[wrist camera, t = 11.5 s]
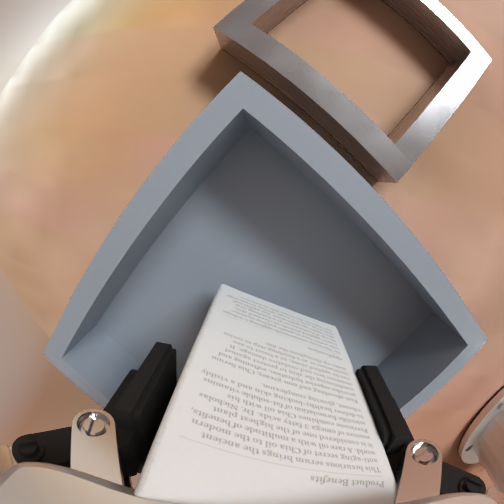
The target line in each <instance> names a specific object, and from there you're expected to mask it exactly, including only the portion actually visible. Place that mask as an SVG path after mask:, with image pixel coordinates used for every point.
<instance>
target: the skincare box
mask: <svg viewBox="0 0 504 504" xmlns="http://www.w3.org/2000/svg"><path fill="white" fill-rule="evenodd" d="M396 492H397V484H396V481H395V478H394V475H393V473H392V470H391V467H390V464H389V461H388V458H387V455H386V453H385V450H384V447H383V444H382V441H381V439H380V436H379V433H378V430H377V428H376V425H375V422H374V419H373V417H372V414H371V412H370V409H369V407H368V404H367V401H366V399H365V396H364V393H363V391H362V388H361V386H360V383H359V381H358V378H357V376H356V373H355V371H354V368H353V366H352V364H351V361H350V358H349V356H348V354H347V351H346V349H345V346H344V344H343V342H342V339H341V337H340V335H339V332H338V330H337V328H336V327H335V326H333V325H330V324H327V323H324V322H321V321H319V320H316V319H313V318H310V317H308V316H305V315H302V314H300V313H297V312H294V311H292V310H289V309H286V308H284V307H281V306H278V305H276V304H273V303H270V302H268V301H265V300H263V299H260V298H257V297H255V296H252V295H250V294H247V293H244V292H242V291H239V290H237V289H235V288H232V287H230V286H228V285H225V284H221V285H220V286H219V288H218V290H217V292H216V294H215V296H214V299H213V301H212V303H211V306H210V308H209V310H208V312H207V315H206V317H205V320H204V322H203V324H202V327H201V329H200V331H199V333H198V336H197V338H196V340H195V343H194V345H193V347H192V349H191V352H190V354H189V357H188V359H187V361H186V364H185V366H184V368H183V371H182V373H181V375H180V378H179V380H178V383H177V385H176V387H175V390H174V392H173V395H172V397H171V400H170V402H169V404H168V407H167V409H166V412H165V414H164V416H163V419H162V421H161V424H160V426H159V429H158V431H157V434H156V436H155V439H154V441H153V444H152V446H151V449H150V451H149V454H148V456H147V459H146V461H145V464H144V467H143V469H142V472H141V475H140V478H139V481H138V484H137V486H136V489H135V491H134V494H135V495H137V496H139V497H144V498H149V499H154V500H160V501H167V502H173V503H180V504H394V503H395V498H396Z"/></svg>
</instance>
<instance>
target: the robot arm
mask: <svg viewBox="0 0 504 504" xmlns="http://www.w3.org/2000/svg"><path fill="white" fill-rule="evenodd" d="M355 373H356V376H357V378H358V381H359V383H360V386H361V388H362V391H363V393H364V396H365V399H366V401H367V404H368V407H369V409H370V412H371V414H372V417H373V419H374V422H375V425H376V428H377V430H378V433H379V436H380V439H381V441H382V444H383V447H384V450H385V453H386V455H387V458H388V461H389V464H390V467H391V470H392V473H393V475H394V478H395V481H396V484H397V492H396V498H395V503H394V504H504V388H503V389H502V390H500V391H499V392H498V393H497V394H496V395H495V396H494V397H493V398H492V399H491V401H490V402H489V403H488V404H487V405H486V406H485V407H484V408H483V409H482V411H481V412H480V413H479V414H478V416H477V417H476V418H475V419H474V421H473V422H472V424H471V425H470V426H469V428H468V429H467V431H466V433H465V434H464V436H463V438H462V441H461V443H460V446H459V455H460V457H461V459H462V461H463V462H465V463H467V464H473V463H478V462H481V463H482V465H483V466H484V468H485V470H486V472H487V473H488V475H489V477H490V479H491V480H492V482H493V484H494V486H495V488H496V490H494V489H492V488H490V487H489V488H488V489H487V490H486V487H485V484H484V482H483V481H482V480H481V479H480V478H479V477H477V476H475V475H473V474H470V473H468V472H466V471H463V470H461V469H458V468H456V467H454V466H451V465H449V464H447V463H445V462H442V451H441V449H440V448H439V447H438V446H437V445H436V444H435V443H434V442H432V441H429V440H426V439H418V440H414V438H413V436H412V434H411V432H410V430H409V428H408V426H407V424H406V421H405V419H404V417H403V415H402V413H401V411H400V409H399V407H398V405H397V403H396V401H395V399H394V398H393V397H392V395H391V393H390V391H389V389H388V387H387V385H386V383H385V381H384V379H383V377H382V375H381V373H380V371H379V369H378V367H377V366H369V365H363V366H362V367H361V368H360V369H357V370H356V372H355ZM176 385H177V365H176V349H173V348H172V345H171V344H167V343H162V342H156V343H155V345H154V346H153V348H152V349H151V351H150V352H149V354H148V355H147V357H146V358H145V360H144V361H143V363H142V364H141V366H140V368H139V369H138V370H135V369H131V370H130V371H129V373H128V374H127V375H126V377H125V378H124V380H123V381H122V383H121V384H120V386H119V387H118V389H117V390H116V392H115V393H114V395H113V396H112V398H111V399H110V401H109V402H108V404H107V405H106V407H105V408H104V410H100V409H94V408H92V409H86V410H83V411H81V412H79V413H78V414H76V416H75V417H74V418H73V422H72V426H71V427H66V428H61V429H56V430H51V431H45V432H40V433H34V434H27V435H24V436H21V437H19V438H17V439H16V441H15V442H14V443H13V445H12V446H9V447H8V445H7V444H1V445H0V504H180V503H173V502H167V501H160V500H154V499H149V498H144V497H139V496H137V495H135V494H134V491H135V489H133V487H132V482H131V476H134V475H136V474H137V473H141V472H142V469H143V467H144V464H145V461H146V459H147V456H148V454H149V451H150V449H151V446H152V444H153V441H154V439H155V436H156V434H157V431H158V429H159V426H160V424H161V421H162V419H163V416H164V414H165V412H166V409H167V407H168V404H169V402H170V400H171V397H172V395H173V392H174V390H175V387H176Z"/></svg>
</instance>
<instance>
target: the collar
mask: <svg viewBox="0 0 504 504" xmlns="http://www.w3.org/2000/svg"><path fill="white" fill-rule="evenodd" d="M306 1H307V0H245V1H244V2H242V3H241V4H240V5H239V6H237V7H236V8H235V9H234V10H233V11H231V12H230V13H229V14H228V15H227V16H226V17H224V18H223V19H222V20H221V21H220V22H219V23H218V24H216V25H215V26H214V27H213V28H214V31H215V33H216V36H217V39H218V41H219V44H220V46H221V48H222V49H223V50H225V51H226V52H228V53H229V54H231V55H232V56H234V57H235V58H236V59H238V60H239V61H241V62H242V63H243V64H245V65H246V66H248V67H249V68H250V69H252V70H253V71H255V72H256V73H257V74H259V75H260V76H261V77H263V78H264V79H265V80H266V81H268V82H269V83H270V84H272V85H273V86H274V87H275V88H277V89H278V90H279V91H281V92H282V93H283V94H284V95H285V96H287V97H288V98H289V99H290V100H292V101H293V102H294V103H295V104H296V105H298V106H299V107H300V108H301V109H302V110H303V111H305V112H306V113H307V114H308V115H309V116H310V117H312V118H313V119H314V120H315V121H316V122H317V123H318V124H319V125H321V126H322V127H323V128H324V129H325V130H326V131H327V132H328V133H329V134H330V135H331V136H333V137H334V138H335V139H336V140H337V141H338V142H339V143H340V144H341V145H342V146H343V147H344V148H345V149H346V150H347V151H348V152H349V153H350V154H351V155H352V156H353V157H354V158H355V159H356V160H357V161H358V162H359V163H360V164H361V165H362V166H363V167H364V168H365V169H366V170H367V171H368V172H369V173H370V174H371V175H372V176H373V177H374V178H375V179H376V181H377V182H393V183H397V182H398V181H399V180H400V179H401V177H402V176H403V175H404V174H405V173H406V171H407V170H408V169H409V168H410V167H411V166H412V164H413V163H414V162H415V161H416V160H417V158H418V157H419V156H420V155H421V153H422V152H423V151H424V150H425V149H426V147H427V146H428V145H429V144H430V142H431V141H432V140H433V139H434V137H435V136H436V135H437V134H438V132H439V131H440V130H441V128H442V127H443V126H444V125H445V123H446V122H447V121H448V120H449V118H450V117H451V116H452V114H453V113H454V112H455V110H456V109H457V108H458V106H459V105H460V104H461V102H462V101H463V100H464V98H465V97H466V96H467V94H468V93H469V92H470V90H471V89H472V87H473V86H474V85H475V83H476V82H477V81H478V79H479V78H480V76H481V75H482V73H483V72H484V71H485V69H486V68H487V66H488V65H489V63H490V62H491V60H492V59H491V58H490V56H489V55H488V54H487V53H486V51H485V50H484V49H483V48H482V47H481V45H480V44H479V43H478V42H477V41H476V40H475V38H474V37H473V36H472V35H471V34H470V33H469V32H468V31H467V29H466V28H465V27H464V26H463V25H462V24H461V23H460V22H459V21H458V20H457V19H456V18H455V17H454V16H453V15H452V14H451V13H450V12H449V11H448V10H447V9H446V8H445V7H444V6H443V5H442V4H441V3H440V2H439V1H437V0H383V1H384V2H385V3H387V4H388V5H389V6H390V7H392V8H393V9H394V10H395V11H396V12H398V13H399V14H400V15H401V16H402V17H403V18H405V19H406V20H407V21H408V22H409V23H410V24H411V25H412V26H413V27H415V28H416V29H417V30H418V31H419V32H420V33H421V34H422V35H423V36H424V37H425V38H426V39H427V40H428V41H429V42H430V43H431V44H432V45H433V46H434V47H435V48H436V49H437V50H438V51H439V52H440V53H441V54H442V55H443V56H444V58H445V59H446V60H447V61H448V62H449V63H450V65H449V66H448V67H447V68H446V70H445V71H444V72H443V73H442V74H441V75H440V77H439V78H438V79H437V80H436V81H435V82H434V84H433V85H432V86H431V87H430V88H429V89H428V91H427V92H426V93H425V94H424V95H423V96H422V98H421V99H420V100H419V101H418V102H417V103H416V105H415V106H414V107H413V108H412V109H411V110H410V111H409V113H408V114H407V115H406V116H405V117H404V118H403V119H402V121H401V122H400V123H399V124H398V125H397V126H396V127H395V129H394V130H393V131H392V132H391V133H390V134H389V135H388V136H387V135H386V134H385V133H384V132H383V131H382V130H381V129H380V128H379V127H378V126H377V125H376V124H375V123H374V122H373V121H372V120H371V119H370V118H369V117H368V116H367V115H366V114H365V113H364V112H363V111H362V110H361V109H360V108H359V107H357V106H356V105H355V104H354V103H353V102H352V101H351V100H350V99H349V98H348V97H347V96H346V95H344V94H343V93H342V92H341V91H340V90H339V89H338V88H337V87H335V86H334V85H333V84H332V83H331V82H330V81H328V80H327V79H326V78H325V77H324V76H322V75H321V74H320V73H319V72H318V71H316V70H315V69H314V68H313V67H311V66H310V65H309V64H308V63H306V62H305V61H304V60H302V59H301V58H300V57H298V56H297V55H296V54H294V53H293V52H292V51H290V50H289V49H288V48H286V47H285V46H284V45H282V44H281V43H279V42H278V41H276V40H275V39H274V38H272V37H271V36H269V35H268V34H267V33H268V32H269V31H270V30H271V29H272V28H274V27H275V26H276V25H277V24H278V23H279V22H281V21H282V20H283V19H284V18H286V17H287V16H288V15H289V14H290V13H292V12H293V11H294V10H296V9H297V8H298V7H299V6H301V5H302V4H303V3H305V2H306Z"/></svg>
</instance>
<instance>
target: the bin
mask: <svg viewBox="0 0 504 504" xmlns="http://www.w3.org/2000/svg"><path fill="white" fill-rule="evenodd" d="M221 284H225V285H228V286H230V287H232V288H235V289H237V290H239V291H242V292H244V293H247V294H250V295H252V296H255V297H257V298H260V299H263V300H265V301H268V302H270V303H273V304H276V305H278V306H281V307H284V308H286V309H289V310H292V311H294V312H297V313H300V314H302V315H305V316H308V317H310V318H313V319H316V320H319V321H321V322H324V323H327V324H330V325H333V326H335V327H336V328H337V330H338V332H339V335H340V337H341V339H342V342H343V344H344V346H345V349H346V351H347V354H348V356H349V358H350V361H351V364H352V366H353V368H354V371H355V372H356V370H357V369H360V368H361V367H362V366H363V365H369V366H377V367H378V369H379V371H380V373H381V375H382V377H383V379H384V381H385V383H386V385H387V387H388V389H389V391H390V393H391V395H392V397H393V398H394V399H395V401H396V403H397V405H398V407H399V409H400V411H401V413H402V415H403V417H404V419H406V418H407V417H408V416H410V415H411V414H412V413H413V412H415V411H416V410H417V409H418V408H419V407H421V406H422V405H423V404H424V403H425V402H426V401H428V400H429V399H430V398H431V397H432V396H433V395H434V394H435V393H437V392H438V391H439V390H440V389H441V388H442V387H443V386H444V385H445V384H446V383H447V382H448V381H449V380H450V379H451V378H452V377H453V376H455V375H456V374H457V373H458V372H459V371H460V369H461V368H462V367H463V366H464V365H465V364H466V363H467V362H468V361H469V360H470V359H471V358H472V357H473V356H474V355H475V354H476V353H477V351H478V350H479V349H480V348H481V347H482V346H483V345H484V344H485V342H486V341H487V338H486V337H485V335H484V333H483V332H482V330H481V328H480V327H479V325H478V323H477V322H476V320H475V319H474V317H473V315H472V314H471V312H470V311H469V309H468V308H467V306H466V305H465V303H464V302H463V300H462V299H461V297H460V296H459V294H458V293H457V291H456V290H455V288H454V287H453V286H452V284H451V283H450V281H449V280H448V279H447V277H446V276H445V274H444V273H443V272H442V270H441V269H440V268H439V266H438V265H437V264H436V262H435V261H434V260H433V258H432V257H431V256H430V254H429V253H428V252H427V251H426V249H425V248H424V247H423V245H422V244H421V243H420V242H419V240H418V239H417V238H416V237H415V236H414V234H413V233H412V232H411V231H410V229H409V228H408V227H407V226H406V225H405V224H404V222H403V221H402V220H401V219H400V218H399V217H398V215H397V214H396V213H395V212H394V211H393V210H392V209H391V207H390V206H389V205H388V204H387V203H386V202H385V201H384V200H383V198H382V197H381V196H380V195H379V194H378V193H377V192H376V191H375V190H374V189H373V188H372V187H371V186H370V184H369V183H368V182H367V181H366V180H365V179H364V178H363V177H362V176H361V175H360V174H359V173H358V172H357V171H356V170H355V169H354V168H353V167H352V166H351V165H350V164H349V163H348V162H347V161H346V160H345V159H344V158H343V157H342V156H341V155H340V154H339V153H338V152H337V151H336V150H335V149H334V148H332V147H331V146H330V145H329V144H328V143H327V142H326V141H325V140H324V139H323V138H322V137H321V136H320V135H318V134H317V133H316V132H315V131H314V130H313V129H312V128H311V127H310V126H308V125H307V124H306V123H305V122H304V121H303V120H302V119H300V118H299V117H298V116H297V115H296V114H295V113H293V112H292V111H291V110H290V109H289V108H287V107H286V106H285V105H284V104H283V103H281V102H280V101H279V100H278V99H276V98H275V97H274V96H273V95H271V94H270V93H269V92H268V91H266V90H265V89H264V88H263V87H261V86H260V85H259V84H257V83H256V82H255V81H253V80H252V79H251V78H249V77H248V76H247V75H245V74H244V73H243V72H241V71H240V72H239V73H238V74H237V75H236V76H235V77H234V78H233V79H232V80H231V81H230V82H229V83H228V84H227V85H226V86H225V87H224V88H223V89H222V91H221V92H220V93H219V94H218V95H217V96H216V97H215V98H214V99H213V100H212V101H211V102H210V103H209V104H208V106H207V107H206V108H205V109H204V110H203V111H202V112H201V113H200V114H199V116H198V117H197V118H196V119H195V120H194V121H193V122H192V124H191V125H190V126H189V127H188V128H187V129H186V131H185V132H184V133H183V134H182V135H181V136H180V138H179V139H178V140H177V141H176V142H175V144H174V145H173V146H172V147H171V149H170V150H169V151H168V152H167V154H166V155H165V156H164V157H163V159H162V160H161V161H160V162H159V164H158V165H157V166H156V168H155V169H154V170H153V172H152V173H151V174H150V175H149V177H148V178H147V179H146V181H145V182H144V184H143V185H142V186H141V188H140V189H139V190H138V192H137V193H136V195H135V196H134V197H133V199H132V200H131V202H130V203H129V204H128V206H127V207H126V209H125V210H124V212H123V213H122V215H121V216H120V218H119V219H118V221H117V222H116V224H115V225H114V227H113V228H112V230H111V231H110V233H109V234H108V236H107V237H106V239H105V241H104V242H103V244H102V245H101V247H100V248H99V250H98V252H97V253H96V255H95V257H94V258H93V260H92V262H91V263H90V265H89V267H88V268H87V270H86V272H85V274H84V275H83V277H82V279H81V281H80V282H79V284H78V286H77V288H76V290H75V291H74V293H73V295H72V297H71V299H70V301H69V303H68V304H67V306H66V308H65V310H64V312H63V314H62V316H61V318H60V320H59V322H58V324H57V326H56V328H55V330H54V332H53V335H52V337H51V339H50V341H49V343H48V345H47V348H46V350H45V352H44V356H45V357H46V358H47V359H48V360H49V361H50V362H51V363H52V364H53V365H54V366H55V367H56V368H57V369H58V370H60V371H61V372H62V373H63V374H64V375H65V376H66V377H67V378H68V379H69V380H70V381H71V382H73V383H74V384H75V385H76V386H77V387H78V388H80V389H81V390H82V391H83V392H84V393H85V394H86V395H88V396H89V397H90V398H91V399H92V400H94V401H95V402H96V403H98V404H99V405H100V406H101V407H103V408H105V407H106V405H107V404H108V402H109V401H110V399H111V398H112V396H113V395H114V393H115V392H116V390H117V389H118V387H119V386H120V384H121V383H122V381H123V380H124V378H125V377H126V375H127V374H128V373H129V371H130V370H131V369H135V370H138V369H139V368H140V366H141V364H142V363H143V361H144V360H145V358H146V357H147V355H148V354H149V352H150V351H151V349H152V348H153V346H154V345H155V343H156V342H162V343H167V344H171V345H172V348H173V349H176V365H177V383H178V380H179V378H180V375H181V373H182V371H183V368H184V366H185V364H186V361H187V359H188V357H189V354H190V352H191V349H192V347H193V345H194V343H195V340H196V338H197V336H198V333H199V331H200V329H201V327H202V324H203V322H204V320H205V317H206V315H207V312H208V310H209V308H210V306H211V303H212V301H213V299H214V296H215V294H216V292H217V290H218V288H219V286H220V285H221Z"/></svg>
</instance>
